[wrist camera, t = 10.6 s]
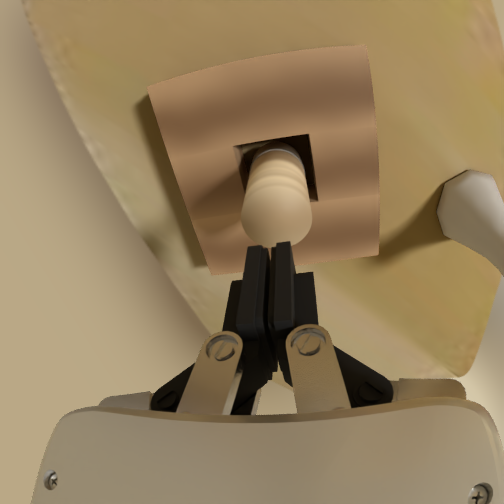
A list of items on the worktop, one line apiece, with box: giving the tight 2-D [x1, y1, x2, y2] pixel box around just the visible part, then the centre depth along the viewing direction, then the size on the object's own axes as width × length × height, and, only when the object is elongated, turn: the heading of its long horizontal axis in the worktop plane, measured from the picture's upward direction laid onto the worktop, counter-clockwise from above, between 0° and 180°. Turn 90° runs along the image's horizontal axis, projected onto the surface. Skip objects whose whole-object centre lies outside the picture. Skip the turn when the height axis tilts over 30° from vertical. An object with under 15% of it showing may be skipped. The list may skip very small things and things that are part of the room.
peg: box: [241, 141, 312, 248], centre depth 19 cm, size 4×4×9 cm
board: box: [147, 45, 380, 275], centre depth 21 cm, size 16×14×3 cm
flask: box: [436, 170, 504, 277], centre depth 19 cm, size 7×7×10 cm
